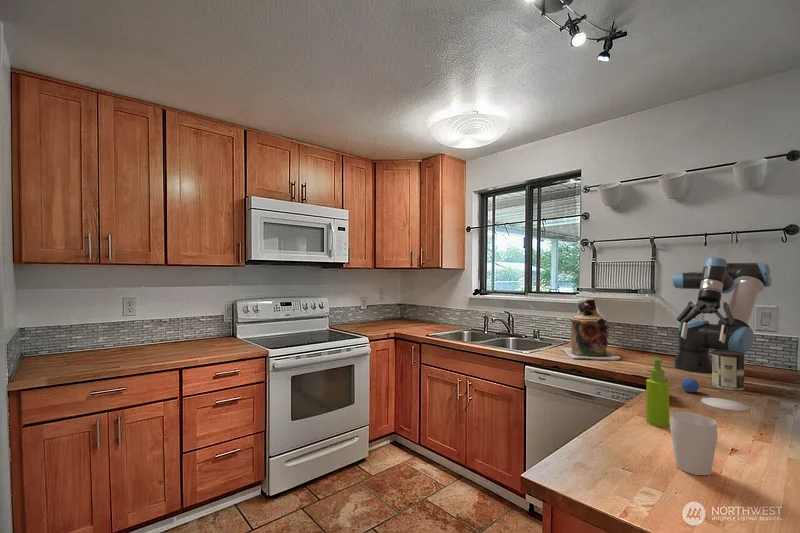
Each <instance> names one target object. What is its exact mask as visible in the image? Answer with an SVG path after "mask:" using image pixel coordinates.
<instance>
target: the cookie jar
mask: <svg viewBox="0 0 800 533" xmlns="http://www.w3.org/2000/svg"><path fill="white" fill-rule="evenodd" d="M595 299H596V297H593V298H592V299H591V298H590V299H585V300H582V301H580V302H579V303H578V310H579V313H578V314H576V315H575V316H571V317H570V318H569V320H570V322H571V329H570V330H571V331H570V338H569V339H570V340H569V341H570V346H571V347H561V348H560V349H561V351H562V352H564V353H565V354H566V355H567V356H568V357H569V358H571V359H572V360H573V359H588V360H589V359H590V360H606V361H609V360H610V361H618V360H620V358H621V356H619V355H615V354H614V353H612V352H611V351H609V350H608V349H607V348H608V343H609V342H608V338H609V336H610V334H609V333H610V327H609V326H610V325H608V324H606V323H607V322H608V321H607V319H606V318H605V317H602V316H601V314H599V313H598V311H597V306H596V301H595Z"/></svg>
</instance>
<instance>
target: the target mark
mask: <svg viewBox="0 0 800 533" xmlns="http://www.w3.org/2000/svg"><path fill="white" fill-rule="evenodd" d="M700 402H702V403H703V404H705V405H706V406H709V407H712V408H715V409H721V410H727V411H731V412H732V411H734V412H735V411H736V412H745V411H746V412H747V411H749V410H750V407H749V405H746V404H744V403H742V402H739V401H735V400H731V399H725V398H717V397H703V398H701V401H700Z"/></svg>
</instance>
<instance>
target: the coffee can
mask: <svg viewBox="0 0 800 533" xmlns="http://www.w3.org/2000/svg"><path fill="white" fill-rule="evenodd" d="M711 361H712V372H711V374H712V376H711V378H712V379H711V380H712V381H711V384H712V386H713V387H716V388H719V389H722V390H723V389H724V390H731V391H744V390H745V353H742V352H737V351H730V350H714V349H711Z"/></svg>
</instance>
